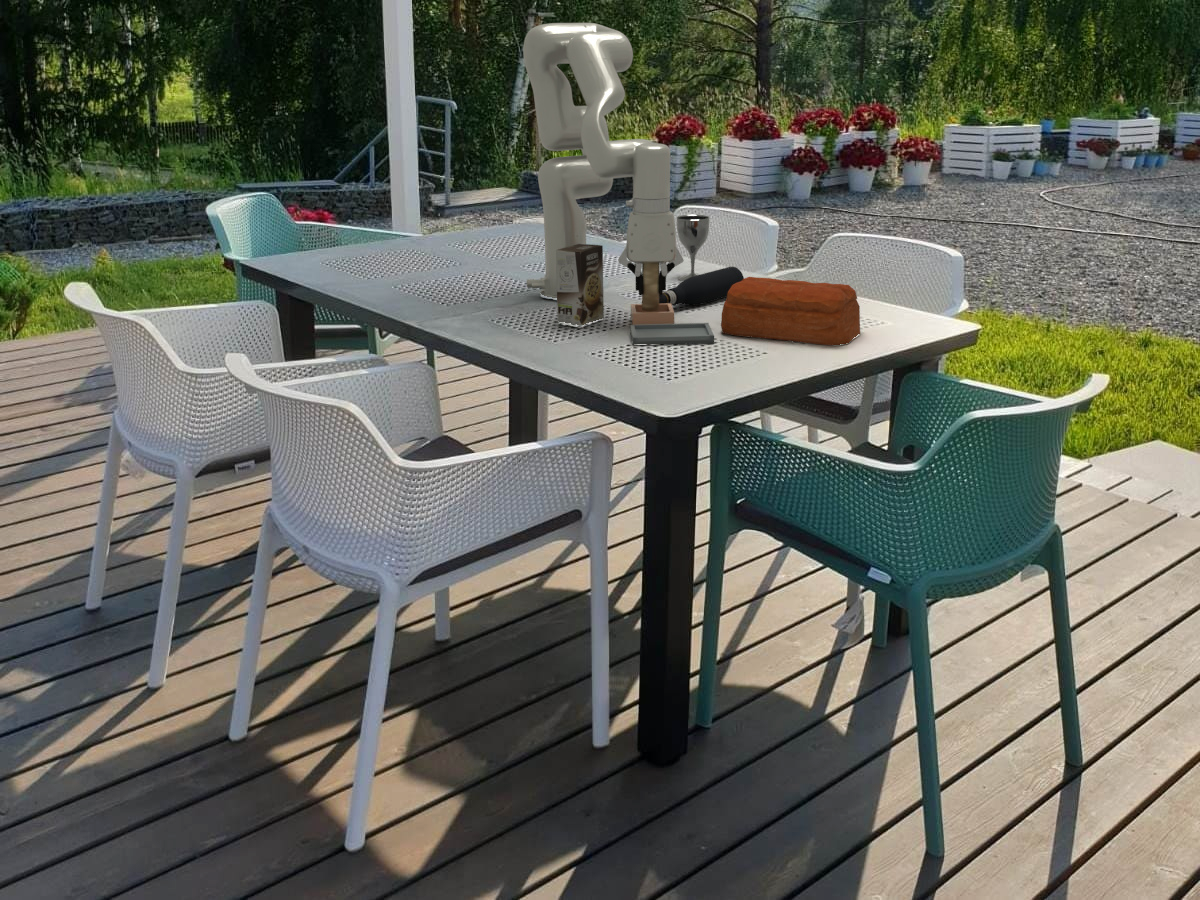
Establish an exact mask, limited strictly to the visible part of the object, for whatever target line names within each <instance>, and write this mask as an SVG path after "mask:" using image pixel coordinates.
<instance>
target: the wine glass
mask: <svg viewBox="0 0 1200 900" xmlns="http://www.w3.org/2000/svg"><path fill="white" fill-rule="evenodd" d="M676 231H677V232H676V234H677V237H678V239H679V241H680V243H681V244H682V246H683V247H684V248H685V249H686V251H687V252H688V254H689V258H690V259H689V260H690V273H688V274H686V275H682V276H679V277H677V278H678V280H679V279H680V281H681V282H683V281H684V280H686V279H688V278H690V277H693V276H697V275H698V274H696V273H695V264H696V263H695V261H696V256H697V253H698V252H699V250H700V249H701V248H702V246H703V245H704V244H705V243H706V242H707V239H708V235H709V231H710V216H708V215H705V214H685V215H684V214H683V215H679V216H676Z"/></svg>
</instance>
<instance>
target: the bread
mask: <svg viewBox="0 0 1200 900" xmlns="http://www.w3.org/2000/svg"><path fill="white" fill-rule="evenodd" d="M857 296H858V295H857V292H856V289H854V288H852V287H851V285H850V284H843V283H829V282H810V281H805V280H793V279H779V278H771V277H755V276H754V277H753V276H747V277H744V279H743V280H742V281H741V282H737V283H735V284H733V285H732V286H731V288H730V289H729V291H728V294H727V297H726V299H725V301H724V303H723V306H722V311H721V322H720V327H721V332H722V334H725V335H729V336H730V335H731V336H735V337H736V336H738V337H746V338H747V337H748V338H756V339H767V340H776V341H785V342H792V341H793V343H801V342H802V343H803V344H813V345H814V344H815V345H824V346H833V345H840V344H846V343H849V342H850V341H851V340H852V339H853V338H854V337H856V336H857V335H858V334H860V335H861V313H860V311H861V310H860V304H859V302H858V300H857V299H858V297H857ZM851 342H852V341H851ZM851 342H850V343H851ZM850 343H849V344H850ZM846 345H847V344H846Z"/></svg>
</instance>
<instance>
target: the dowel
mask: <svg viewBox="0 0 1200 900" xmlns="http://www.w3.org/2000/svg"><path fill="white" fill-rule="evenodd" d="M641 272H642V276H643V295H641V304H642V310H644V311H657V310H659V273H660V263H642V268H641Z"/></svg>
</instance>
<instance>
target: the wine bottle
mask: <svg viewBox="0 0 1200 900" xmlns="http://www.w3.org/2000/svg"><path fill="white" fill-rule="evenodd" d="M696 275H697V276H693V277H690V278H688V279H686V280H684V281H681V282H680V283H679V284H678V285H677V286H674V287H671V288H669V289H666V290H663V295H659V304H664V303H671V305H672V307H673V306H677V305H685V306H700V305H702V304H705V303H710V302H714V301H716V300H720V299H723V298H727V294H728V291H729V289H730V288H731V286H732V285H733V284H735V283H737V282H741V281H742V280H743V279H744V278H745V277H744V275H743V272H742V271H741V270H740V269H739V268H738V267H735V266H728V267H724V268H720V269H715V270H713V271H707V272H704V273H701V274H696Z"/></svg>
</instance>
